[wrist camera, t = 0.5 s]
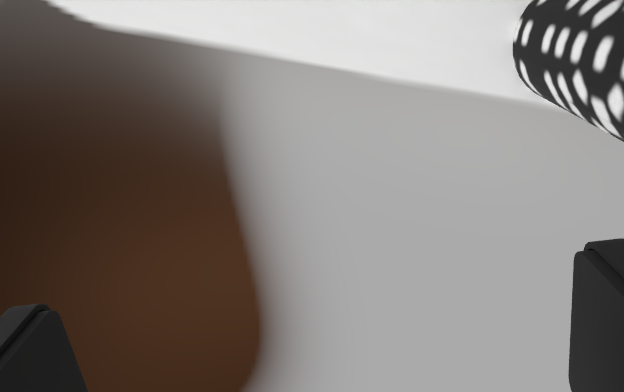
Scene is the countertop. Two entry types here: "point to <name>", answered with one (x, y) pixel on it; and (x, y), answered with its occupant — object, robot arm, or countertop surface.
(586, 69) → the spotted tube
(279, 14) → the countertop surface
